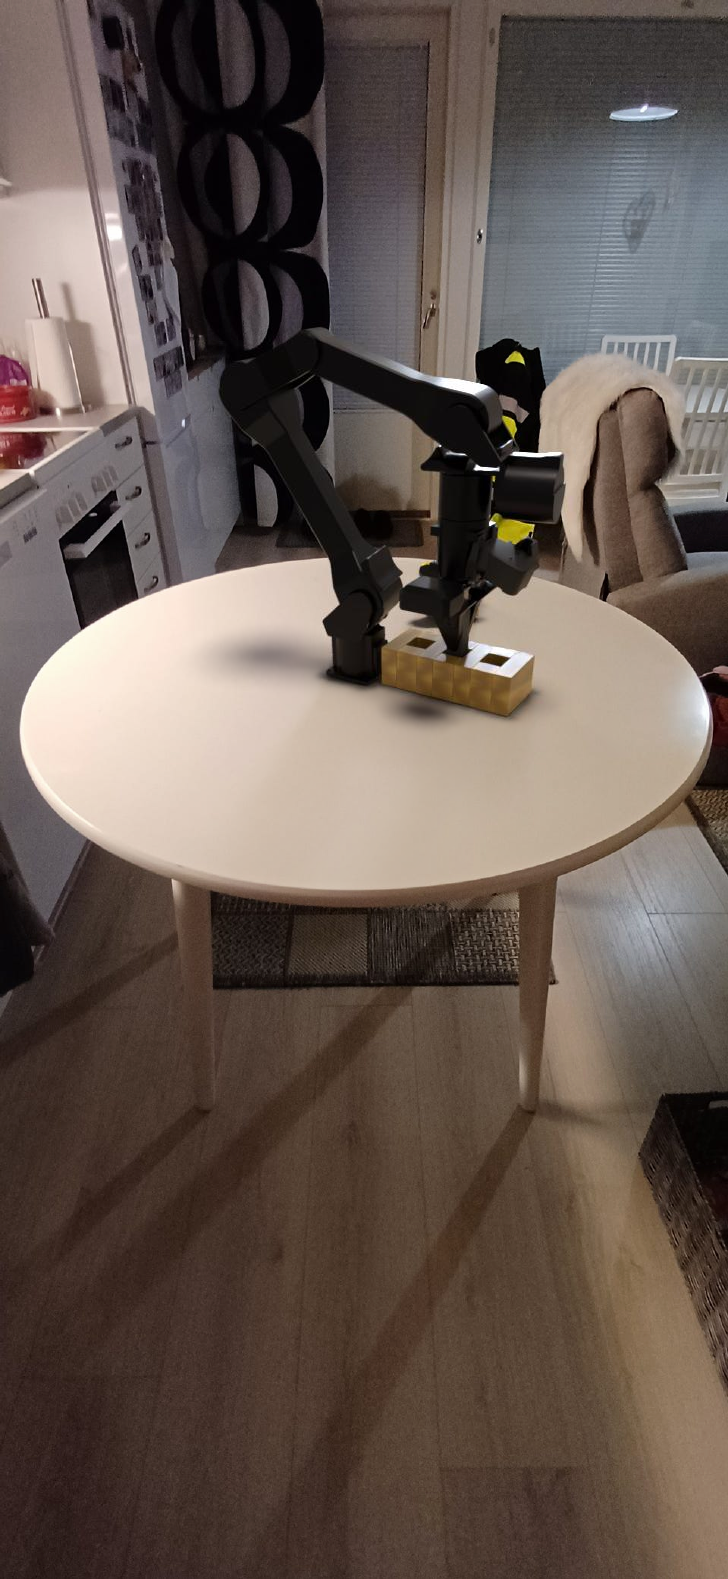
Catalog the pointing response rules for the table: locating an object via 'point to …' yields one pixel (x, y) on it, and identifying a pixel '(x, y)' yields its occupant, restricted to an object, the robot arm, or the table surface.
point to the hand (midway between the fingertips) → (456, 647)
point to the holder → (458, 671)
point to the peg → (463, 636)
